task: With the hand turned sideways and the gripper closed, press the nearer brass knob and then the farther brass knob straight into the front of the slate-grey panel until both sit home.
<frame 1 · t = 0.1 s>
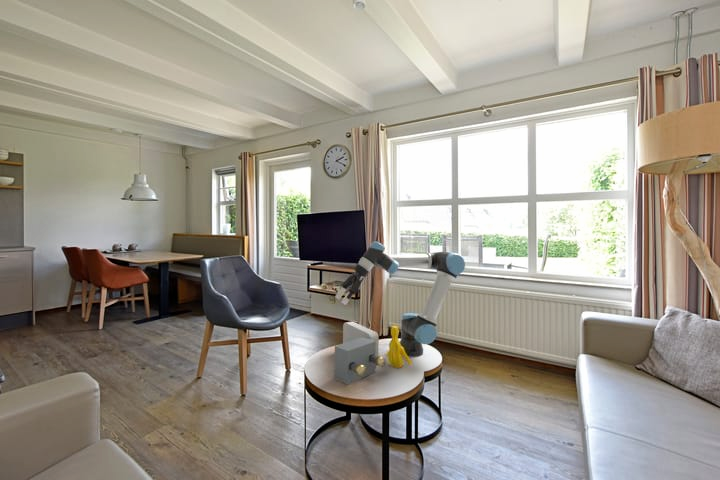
hand: (340, 301, 168), 36 cm above the table, tool tilted 35°, fingers open, 13 cm apart
knob 2: (375, 359, 162), point 8 cm above the table, slide at 4.0 cm
knob housing: (355, 375, 162), on the table
knob 1: (355, 367, 152), point 8 cm above the table, slide at 4.0 cm
figure statuette: (396, 366, 174), on the table
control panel: (359, 358, 184), on the table
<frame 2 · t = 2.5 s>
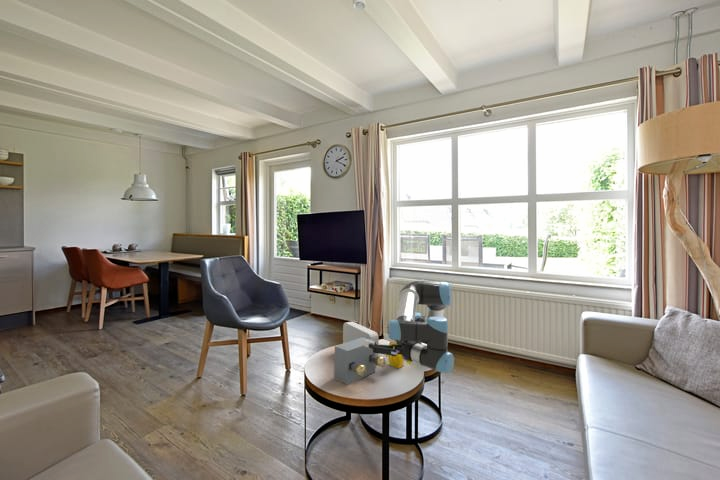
hand: (374, 339, 144), 24 cm above the table, tool horizontal, fingers open, 12 cm apart
nothing on the table moved.
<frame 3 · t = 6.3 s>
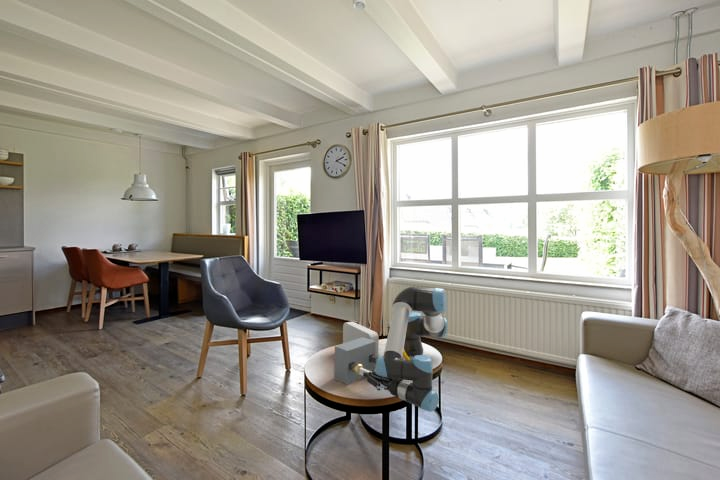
hand: (360, 370, 149), 8 cm above the table, tool horizontal, fingers closed
knob 1: (353, 366, 153), point 8 cm above the table, slide at 2.5 cm, touching gripper
everything else where it was.
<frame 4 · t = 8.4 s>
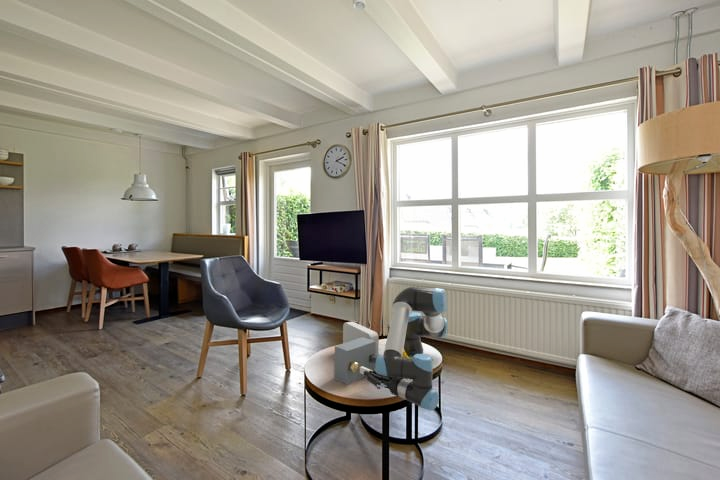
hand: (361, 369, 149), 8 cm above the table, tool horizontal, fingers closed
knob 1: (349, 365, 155), point 8 cm above the table, slide at -0.1 cm
everything else where it was.
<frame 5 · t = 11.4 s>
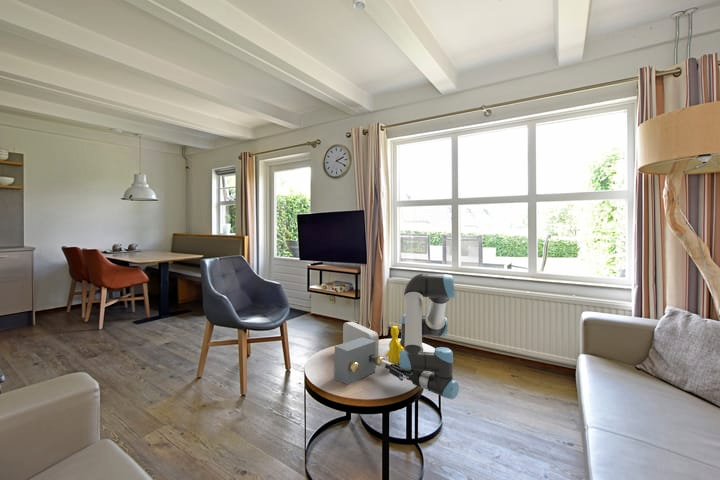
hand: (382, 363, 158), 8 cm above the table, tool horizontal, fingers closed
knob 2: (375, 359, 162), point 8 cm above the table, slide at 3.8 cm, touching gripper
everything else where it was.
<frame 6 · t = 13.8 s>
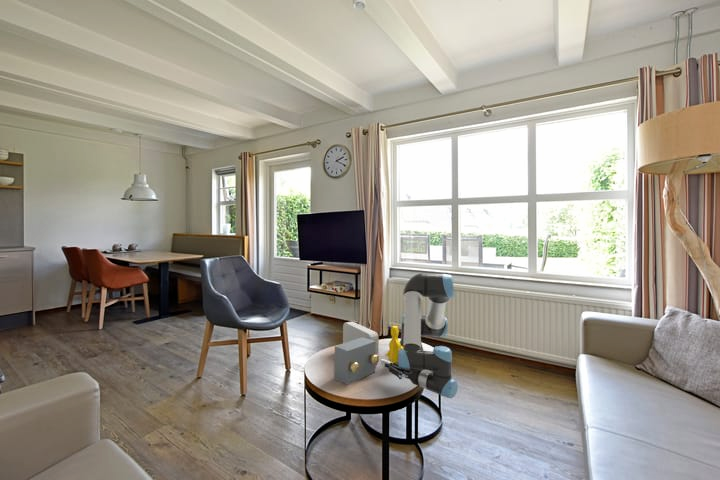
hand: (381, 361, 159), 8 cm above the table, tool horizontal, fingers closed
knob 2: (369, 357, 165), point 8 cm above the table, slide at -0.1 cm
everything else where it was.
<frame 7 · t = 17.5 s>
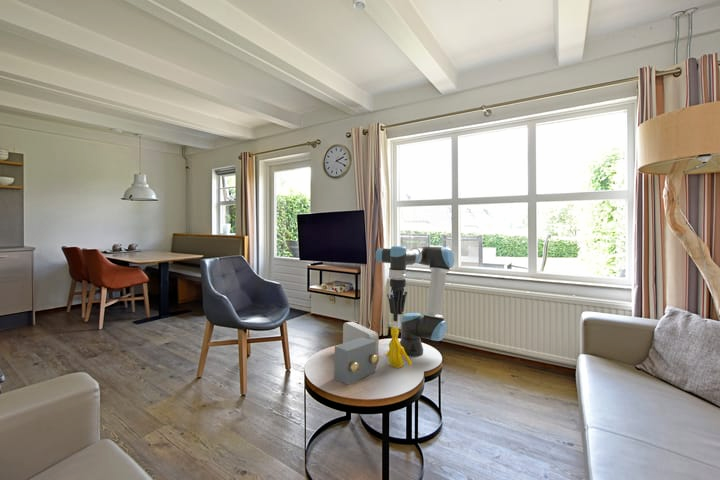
hand: (396, 327, 155), 26 cm above the table, tool pointing down, fingers closed
nothing on the table moved.
at the end: knob 1 slide at -0.1 cm; knob 2 slide at -0.1 cm; figure statuette moved 0.2 cm from its start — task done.
